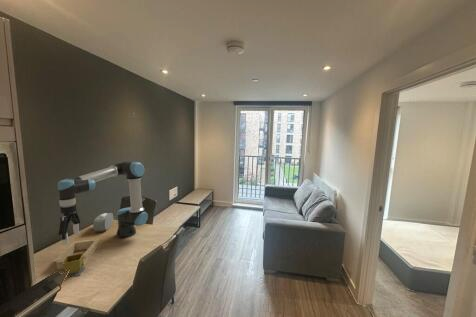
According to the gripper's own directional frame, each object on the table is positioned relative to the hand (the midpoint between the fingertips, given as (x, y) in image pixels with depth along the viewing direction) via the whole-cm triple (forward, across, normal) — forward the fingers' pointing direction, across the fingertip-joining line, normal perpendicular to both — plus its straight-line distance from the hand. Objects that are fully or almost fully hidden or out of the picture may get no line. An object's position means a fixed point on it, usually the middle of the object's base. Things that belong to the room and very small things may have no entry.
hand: (71, 238), depth 125 cm
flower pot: (+22, 0, 0) cm, 22 cm away
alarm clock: (+23, -67, -4) cm, 71 cm away
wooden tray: (+22, -19, -5) cm, 30 cm away
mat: (+22, 0, 0) cm, 22 cm away
